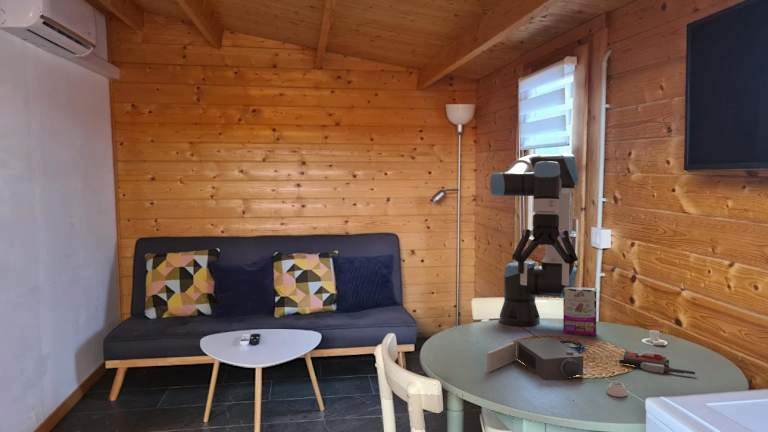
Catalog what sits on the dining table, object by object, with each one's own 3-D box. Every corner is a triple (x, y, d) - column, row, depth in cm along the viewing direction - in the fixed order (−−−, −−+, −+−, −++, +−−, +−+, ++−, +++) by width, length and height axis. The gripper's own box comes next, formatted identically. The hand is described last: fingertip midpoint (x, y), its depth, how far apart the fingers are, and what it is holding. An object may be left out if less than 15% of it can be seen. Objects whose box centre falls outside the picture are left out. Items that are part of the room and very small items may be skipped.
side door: (513, 359, 176) (513, 340, 175) (516, 359, 175) (516, 341, 174) (486, 371, 165) (486, 351, 165) (489, 372, 164) (489, 352, 164)
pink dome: (628, 398, 145) (625, 391, 150) (628, 387, 145) (625, 380, 149) (607, 397, 146) (605, 389, 151) (607, 386, 146) (605, 379, 151)
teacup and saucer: (665, 348, 186) (666, 336, 186) (639, 345, 190) (639, 333, 190) (668, 341, 193) (669, 330, 193) (643, 338, 198) (643, 327, 197)
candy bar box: (596, 332, 204) (597, 287, 203) (596, 336, 199) (596, 290, 198) (563, 329, 208) (564, 285, 207) (562, 333, 203) (563, 288, 202)
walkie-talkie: (618, 368, 168) (695, 379, 158) (618, 353, 168) (695, 363, 158) (621, 359, 176) (694, 369, 166) (621, 345, 175) (695, 354, 166)
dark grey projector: (516, 359, 176) (516, 338, 175) (552, 356, 178) (552, 336, 177) (546, 382, 156) (546, 359, 156) (586, 379, 158) (586, 355, 158)
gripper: (512, 212, 163) (511, 286, 162) (590, 214, 168) (589, 286, 168) (501, 212, 170) (500, 283, 170) (576, 215, 176) (575, 284, 175)
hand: (544, 285), depth 169 cm, fingers open, 13 cm apart
